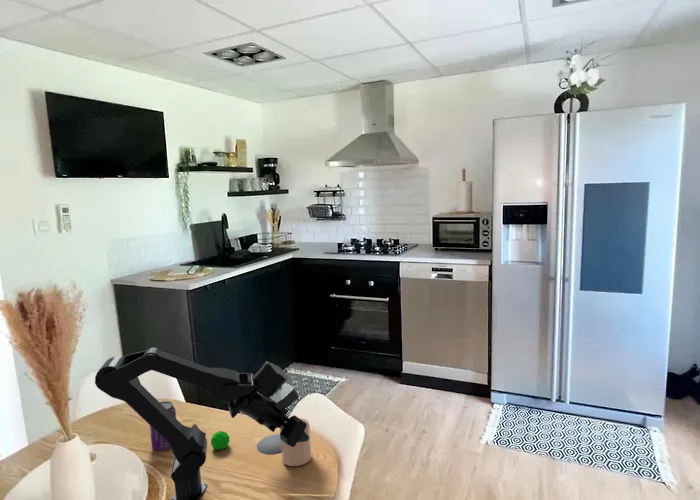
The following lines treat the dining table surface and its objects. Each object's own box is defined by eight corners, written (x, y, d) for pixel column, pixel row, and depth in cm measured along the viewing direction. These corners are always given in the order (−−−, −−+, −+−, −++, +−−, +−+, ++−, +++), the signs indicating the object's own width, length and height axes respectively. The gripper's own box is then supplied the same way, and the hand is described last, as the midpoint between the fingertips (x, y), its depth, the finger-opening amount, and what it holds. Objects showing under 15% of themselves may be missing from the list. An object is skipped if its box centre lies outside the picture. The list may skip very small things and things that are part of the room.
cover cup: (307, 466, 112) (305, 433, 110) (279, 465, 112) (276, 432, 111) (313, 449, 119) (311, 418, 118) (286, 448, 120) (284, 417, 119)
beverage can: (169, 453, 122) (164, 412, 120) (146, 451, 123) (142, 411, 122) (183, 439, 129) (179, 400, 127) (162, 437, 130) (157, 399, 129)
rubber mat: (287, 455, 118) (287, 454, 118) (252, 455, 119) (251, 454, 119) (296, 435, 128) (296, 434, 128) (263, 435, 129) (262, 434, 129)
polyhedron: (207, 451, 122) (206, 435, 122) (220, 442, 127) (218, 426, 126) (221, 455, 120) (220, 438, 119) (233, 445, 124) (232, 429, 124)
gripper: (297, 390, 103) (337, 418, 111) (260, 368, 118) (297, 394, 126) (269, 434, 99) (313, 459, 107) (235, 405, 114) (275, 430, 122)
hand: (299, 433), depth 116 cm, fingers closed on cover cup, 8 cm apart
